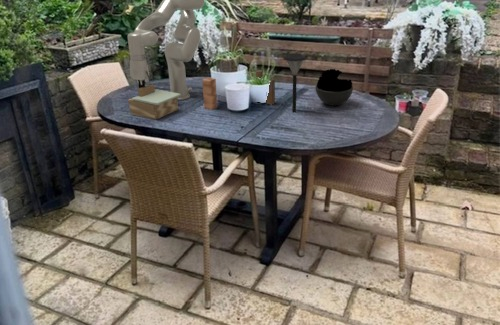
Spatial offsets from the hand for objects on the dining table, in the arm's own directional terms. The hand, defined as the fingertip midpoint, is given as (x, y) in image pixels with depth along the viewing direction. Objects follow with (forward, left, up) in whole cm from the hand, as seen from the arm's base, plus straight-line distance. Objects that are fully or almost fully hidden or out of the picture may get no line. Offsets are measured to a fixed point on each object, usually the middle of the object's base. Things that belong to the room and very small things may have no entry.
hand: (142, 91), depth 242 cm
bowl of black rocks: (-57, +86, -11) cm, 104 cm away
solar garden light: (-36, +73, -11) cm, 82 cm away
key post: (-20, +30, -10) cm, 38 cm away
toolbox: (0, +7, -10) cm, 13 cm away
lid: (0, +10, -2) cm, 10 cm away
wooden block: (-41, +52, -11) cm, 67 cm away
